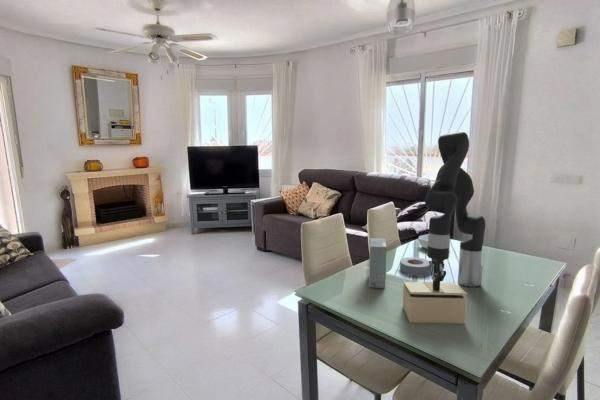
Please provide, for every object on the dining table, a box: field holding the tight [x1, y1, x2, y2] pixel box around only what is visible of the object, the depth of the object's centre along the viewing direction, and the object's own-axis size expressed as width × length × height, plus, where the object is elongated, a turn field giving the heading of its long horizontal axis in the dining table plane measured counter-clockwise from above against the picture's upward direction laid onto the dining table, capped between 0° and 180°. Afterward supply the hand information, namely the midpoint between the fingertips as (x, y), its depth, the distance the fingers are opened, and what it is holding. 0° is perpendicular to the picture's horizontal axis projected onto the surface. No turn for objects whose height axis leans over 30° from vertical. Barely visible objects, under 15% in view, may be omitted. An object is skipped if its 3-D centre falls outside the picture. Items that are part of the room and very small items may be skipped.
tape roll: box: [399, 256, 431, 277], centre depth 179 cm, size 15×15×5 cm
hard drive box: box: [368, 237, 387, 289], centre depth 164 cm, size 16×8×20 cm, turn 168°
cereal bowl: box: [418, 234, 429, 250], centre depth 215 cm, size 17×17×7 cm
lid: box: [403, 281, 468, 296], centre depth 131 cm, size 20×12×1 cm, turn 85°
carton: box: [402, 284, 467, 325], centre depth 132 cm, size 20×12×10 cm, turn 85°
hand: (435, 289), depth 128 cm, fingers closed
